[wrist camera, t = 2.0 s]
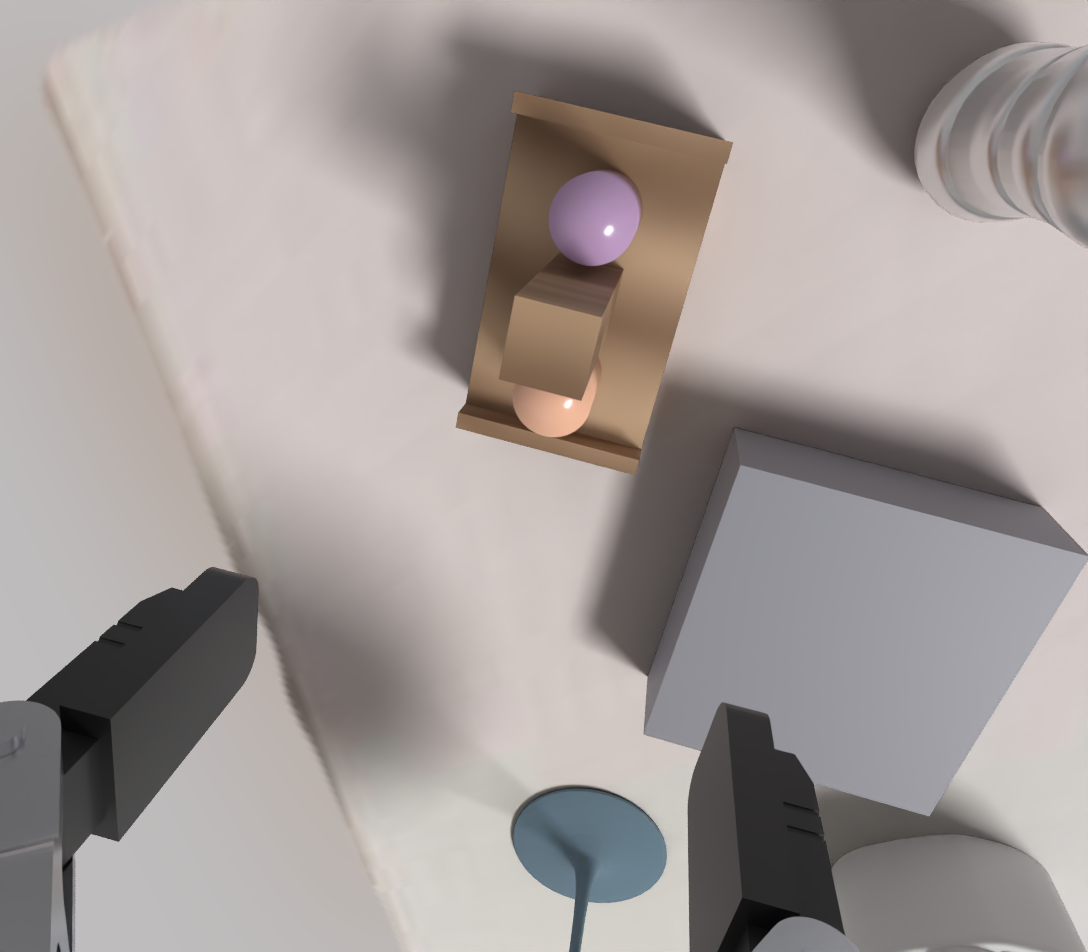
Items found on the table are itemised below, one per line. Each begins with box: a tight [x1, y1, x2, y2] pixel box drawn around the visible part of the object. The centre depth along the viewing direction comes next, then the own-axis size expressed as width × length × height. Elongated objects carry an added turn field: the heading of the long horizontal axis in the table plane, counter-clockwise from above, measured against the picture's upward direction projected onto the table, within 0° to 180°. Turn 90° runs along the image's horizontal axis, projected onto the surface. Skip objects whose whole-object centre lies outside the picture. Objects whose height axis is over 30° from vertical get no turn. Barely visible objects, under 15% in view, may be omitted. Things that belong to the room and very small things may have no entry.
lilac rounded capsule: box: [549, 168, 643, 266], centre depth 32 cm, size 3×3×4 cm
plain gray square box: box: [644, 428, 1088, 816], centre depth 41 cm, size 17×16×5 cm
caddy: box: [456, 91, 733, 475], centre depth 32 cm, size 15×9×14 cm, turn 168°
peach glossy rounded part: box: [513, 357, 602, 437], centre depth 35 cm, size 3×3×4 cm
